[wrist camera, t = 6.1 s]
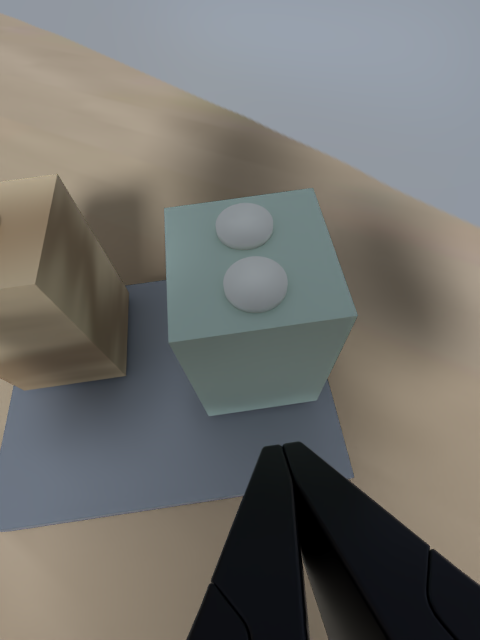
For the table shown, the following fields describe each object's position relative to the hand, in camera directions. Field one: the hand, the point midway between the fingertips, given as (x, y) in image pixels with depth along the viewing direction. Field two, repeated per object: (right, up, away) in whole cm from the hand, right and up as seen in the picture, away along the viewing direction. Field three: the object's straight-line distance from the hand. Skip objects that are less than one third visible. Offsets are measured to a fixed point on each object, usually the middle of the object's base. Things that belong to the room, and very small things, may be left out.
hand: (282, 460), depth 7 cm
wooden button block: (-9, +2, +9) cm, 12 cm away
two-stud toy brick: (0, +1, +8) cm, 8 cm away
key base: (-4, 0, +9) cm, 10 cm away
